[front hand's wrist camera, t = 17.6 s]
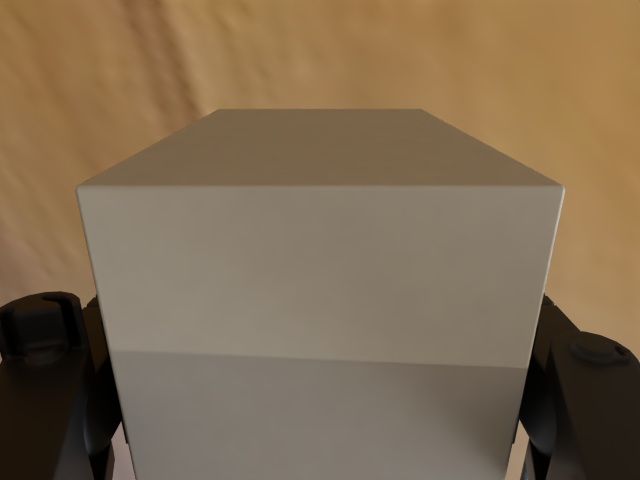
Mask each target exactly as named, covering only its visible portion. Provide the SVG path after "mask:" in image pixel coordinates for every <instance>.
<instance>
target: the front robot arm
mask: <svg viewBox="0 0 640 480" xmlns="http://www.w3.org/2000/svg"><path fill="white" fill-rule="evenodd" d="M0 354H1V357H2V362H1V364H0V480H112V477H113V469H114V462H115V457H114V451H113V446H112V442H111V439H112V437H113V435H114V433H115V432H116V430H117V428H118V426H119V424H120V422H121V421H122V426H123V431H124V436H125V440H126V444H128V440H127V435H126V431H125V426H124V421H123V416H122V411H121V407H120V402H119V397H118V392H117V388H116V383H115V378H114V373H113V368H112V364H111V359H110V354H109V349H108V345H107V340H106V335H105V330H104V325H103V321H102V316H101V311H100V306H99V302H98V297H97V295H96V298H93V299H92V300H91V301H90V302H89V303H88V304H87V307H84V308H83V309H82V308H81V303H80V299H79V297H77V296H76V295H74V294H73V293H67V292H61V291H60V292H44V293H39V294H34V295H29V296H26V297H23V298H20V299H17V300H14V301H11V302H9V303H8V304H6V305H4V306H2V307H0ZM519 419H520V421H521V423H522V425H523V427H524V428H525V430H526V432H527V434H528V436H529V442H528V446H527V451H526V455H525V460H524V464H523V468H522V473H521V477H520V480H640V363H639V361H638V359H637V358H636V357H635V356H634V355H633V353H632V352H631V351H630V350H629V349H627V348H625V347H624V346H622V345H621V344H619V343H618V342H616V341H613V340H611V339H609V338H606V337H604V336H601V335H597V334H593V333H589V332H584V331H580V330H579V329H578V328H577V327H576V326H575V325H574V324H573V323H572V322H571V321H570V320H569V319H568V317H567V316H566V315H565V314H564V313H563V312H562V311H561V310H560V309H559V308H558V307H557V306H554V303H553V302H552V301H551V300H550V298H549V297H548V296H545V293H544V294H543V299H542V304H541V308H540V313H539V318H538V323H537V328H536V332H535V337H534V342H533V347H532V352H531V356H530V361H529V366H528V371H527V375H526V380H525V385H524V390H523V395H522V399H521V404H520V409H519V414H518V419H517V423H516V428H515V433H514V438H513V443H512V444H514V442H515V437H516V433H517V428H518V423H519Z"/></svg>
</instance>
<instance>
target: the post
mask: <svg viewBox="0 0 640 480" xmlns="http://www.w3.org/2000/svg"><path fill="white" fill-rule="evenodd" d="M75 192H76V197H77V201H78V206H79V211H80V216H81V220H82V225H83V230H84V235H85V240H86V244H87V249H88V254H89V259H90V263H91V268H92V273H93V278H94V283H95V287H96V292H97V297H98V302H99V306H100V311H101V316H102V321H103V325H104V330H105V335H106V340H107V345H108V349H109V354H110V359H111V364H112V368H113V373H114V378H115V383H116V388H117V392H118V397H119V402H120V407H121V411H122V416H123V421H124V426H125V431H126V435H127V440H128V445H129V450H130V454H131V459H132V464H133V469H134V473H135V478H136V480H505V476H506V471H507V467H508V462H509V457H510V452H511V447H512V443H513V438H514V433H515V428H516V423H517V419H518V414H519V409H520V404H521V399H522V395H523V390H524V385H525V380H526V375H527V371H528V366H529V361H530V356H531V352H532V347H533V342H534V337H535V332H536V328H537V323H538V318H539V313H540V308H541V304H542V299H543V294H544V289H545V284H546V280H547V275H548V270H549V265H550V260H551V256H552V251H553V246H554V241H555V236H556V232H557V227H558V222H559V217H560V213H561V208H562V203H563V198H564V193H565V187H564V186H563V185H561V184H559V183H558V182H556V181H554V180H552V179H550V178H548V177H546V176H545V175H543V174H541V173H539V172H537V171H535V170H533V169H532V168H530V167H528V166H526V165H524V164H522V163H520V162H519V161H517V160H515V159H513V158H511V157H509V156H507V155H506V154H504V153H502V152H500V151H498V150H496V149H494V148H493V147H491V146H489V145H487V144H485V143H483V142H481V141H480V140H478V139H476V138H474V137H472V136H470V135H468V134H467V133H465V132H463V131H461V130H459V129H457V128H455V127H454V126H452V125H450V124H448V123H446V122H444V121H442V120H441V119H439V118H437V117H435V116H433V115H431V114H429V113H428V112H426V111H424V110H422V109H219V110H217V111H215V112H213V113H211V114H209V115H207V116H206V117H204V118H202V119H200V120H198V121H196V122H194V123H193V124H191V125H189V126H187V127H185V128H183V129H181V130H180V131H178V132H176V133H174V134H172V135H170V136H168V137H167V138H165V139H163V140H161V141H159V142H157V143H155V144H154V145H152V146H150V147H148V148H146V149H144V150H142V151H141V152H139V153H137V154H135V155H133V156H131V157H130V158H128V159H126V160H124V161H122V162H120V163H118V164H117V165H115V166H113V167H111V168H109V169H107V170H105V171H104V172H102V173H100V174H98V175H96V176H94V177H92V178H91V179H89V180H87V181H85V182H83V183H81V184H79V185H78V186H76V190H75Z"/></svg>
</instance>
